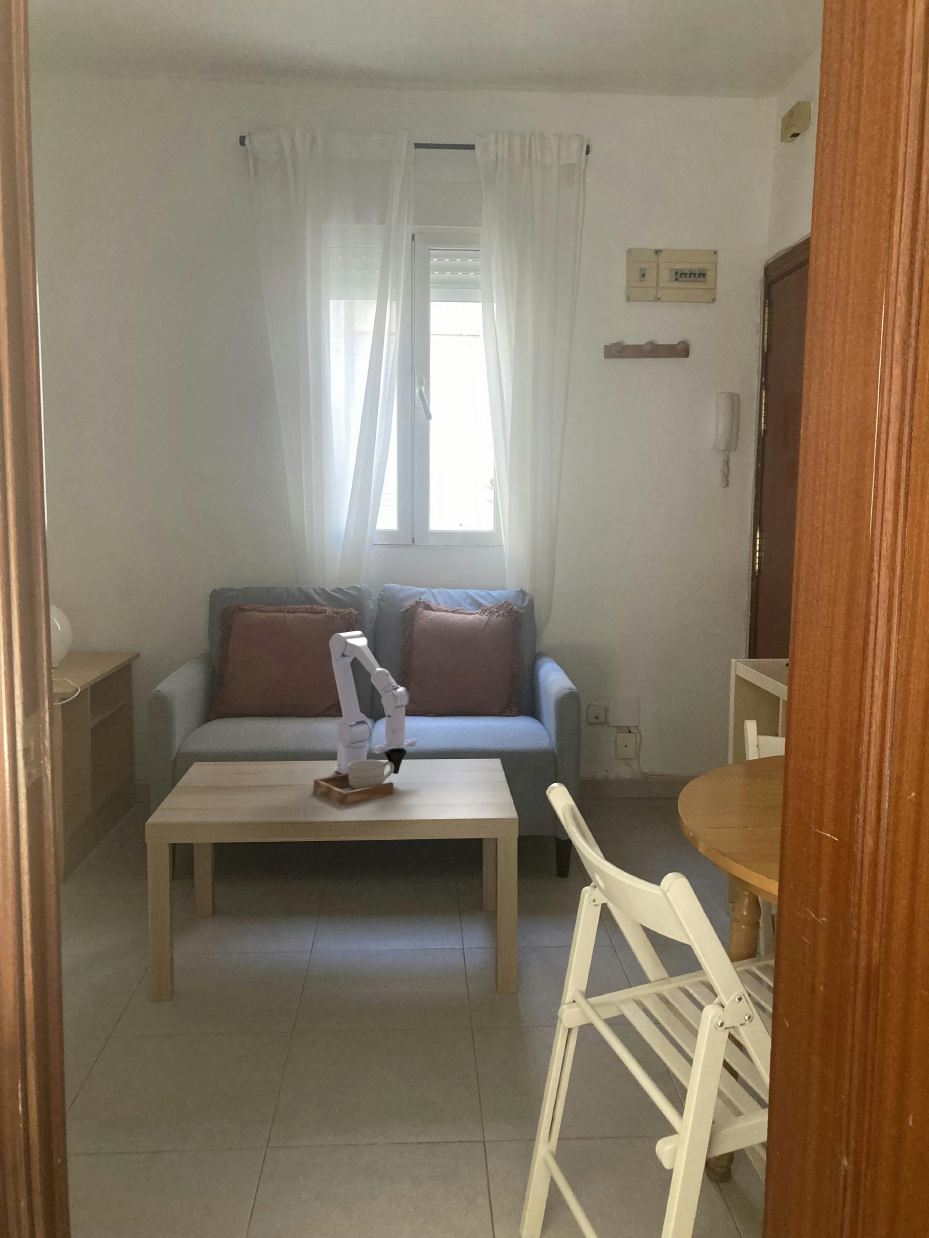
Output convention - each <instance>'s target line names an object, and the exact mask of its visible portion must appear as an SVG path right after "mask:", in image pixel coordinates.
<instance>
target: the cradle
mask: <svg viewBox="0 0 929 1238" xmlns="http://www.w3.org/2000/svg"><path fill="white" fill-rule="evenodd" d="M349 786H351V785H350V783H349V777H348V773H345V774H342V773H340V774H336V775H330V776H326V777H321V778H316V779H313V793H316V794H318V795H320V796H323V797H324V798H327V799H329V800H331V801H333V802H335V803H338V804H340V805H341V806H344V807H345V806H351V805H354V804H359V803H363V802H369V801H372V800H376V799H381V798H384V797H390V796H393V795H394V783H393V782H392V781H389V782H386V783H385V782H383V784H380V785H375V786H370V787H366V788H361V789H356V790H355V789H353V790H348V791H345V790H343V789H340V788H343V787H349Z"/></svg>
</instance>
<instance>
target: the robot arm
mask: <svg viewBox="0 0 929 1238" xmlns="http://www.w3.org/2000/svg"><path fill="white" fill-rule="evenodd" d="M328 644H329V650H330V655H331V664H332V669H333V674H334V678H335V683H336V687H337V693H338V694H337V695H338V698H339V703H340V709H341V713H342V717H341V718H340V719H339V720H338V721H337V724H336V725H337V740H338V742H339V743H340V745H338V748H337V753H336V754H337V757H336V758H337V759H336V760H337V763H336V765H337V766H336V767H337V768H335V769H334V771H335V772H337V773H340V774H345V773H348V764H349V763H350V762H353V761H358V760H367V745H368V744H369V741H370V740H371V738H372V736H373V729H372V727H371V725H370V723H369V720H368V717H367V716H366V715H365V714H364V713H362V712H361V709H360V704H359V700H358V696H357V689H356V684H355V681H354V676H353V671H352V667H351V666H352V665H351V662H352V661H353V659H354V658H356V659H357V660H358V661H359V662H360V663H361V664H362V666H363V667H364V668H365V669H366V670H367V672H368V673H369V674H370V676H371V677H370V682H371V683H372V684H373V686H374V688H375V689H376V690H377V692H378V693H379V694H380V696H381V704H382V705H383V709H384V710H383V711H384V714H385V741H384V742H383V743H380V744H377V745H373V747H372V752H373V754H380V753H384V755H385V757H386V758H387V762H391V763H393V765H394V771H393V773H392V774H394V775H399V773H400V767H401V764H402V763H403V760H404V758H405V756H406V754H407V750H406V749H405V748H411V747H413V748H414V747H415V748H416V747H417V740H416V739H414V738H410V739H409V738H408V739H405V738H406V706H407V705H408V704H409V702H410V694H409V692H408V690H407V689H406V688H405V687H403V686H400V685H399V684H397V682H396V681H395V679H394V678H393V677H392V675H391V673H390V671H389V670H387V669H386V668H381V666H380V665H379V663H378V662H377V660H376V659H375V656H374V654H373V653H372V652H371V649H370V648H369V647H368V639H367V638H366V636H365V635H364V633H363V632H362V631H360V630H354V631H348V632H341V633H339V632H337V633H334V634H333V635H332V636H331V638H330V640H329V642H328ZM389 768H390V769H391V767H390V766H389Z"/></svg>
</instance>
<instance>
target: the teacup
mask: <svg viewBox="0 0 929 1238" xmlns="http://www.w3.org/2000/svg"><path fill="white" fill-rule="evenodd" d="M387 766H389V768H390V767H391V768H390V769H389V771H388V772H386V773H385V769H386V767H387ZM393 771H394V765H393V763H391V762H388V761H385V762H384V761H382V760H377V759H366V760H358V761H353V762H350V763H349V764H348V777H349V783H350V785H349V786H350V787H351V788H353V790H356V789H361V788H366V787H370V786H375V785H380V784H384V783H385V781H386V779H387V778H389V777H390V776H391V775H392V774H393Z"/></svg>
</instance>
